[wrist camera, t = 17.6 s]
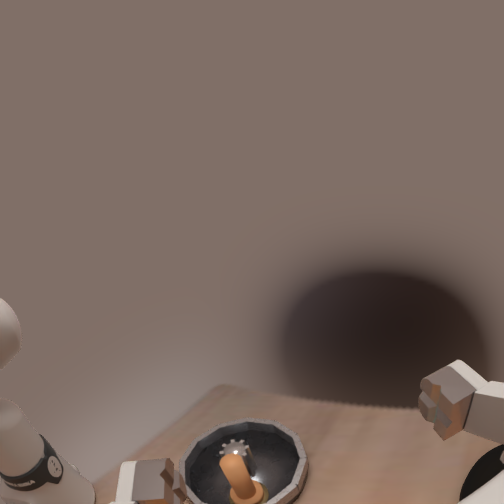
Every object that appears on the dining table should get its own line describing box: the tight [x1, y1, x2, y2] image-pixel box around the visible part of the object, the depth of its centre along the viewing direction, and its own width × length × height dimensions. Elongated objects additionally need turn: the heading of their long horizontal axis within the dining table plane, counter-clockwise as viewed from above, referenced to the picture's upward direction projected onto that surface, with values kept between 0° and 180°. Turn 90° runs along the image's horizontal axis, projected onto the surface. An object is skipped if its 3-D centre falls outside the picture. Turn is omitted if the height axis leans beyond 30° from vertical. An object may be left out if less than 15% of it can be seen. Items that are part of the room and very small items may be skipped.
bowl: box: [179, 417, 308, 504], centre depth 42 cm, size 20×20×8 cm
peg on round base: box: [220, 453, 264, 504], centre depth 36 cm, size 5×5×10 cm
